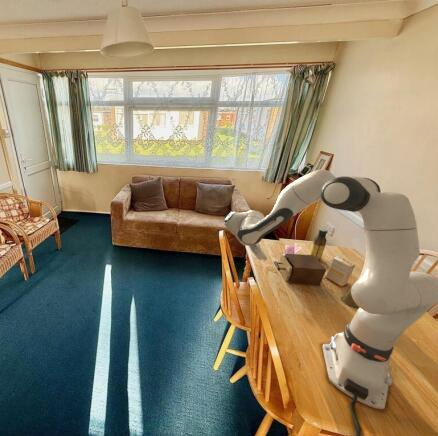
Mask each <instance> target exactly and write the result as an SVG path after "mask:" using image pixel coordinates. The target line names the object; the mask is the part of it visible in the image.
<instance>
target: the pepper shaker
mask: <svg viewBox="0 0 438 436" xmlns="http://www.w3.org/2000/svg"><path fill="white" fill-rule="evenodd" d="M355 282H356V281H354V282H352V283H351V284H350V289H349V290H348V291H347V292H346V293H345V295H344V296H343V297H342V301H343V302H344V303H345V304H347V305H348V306H351V307H353V308H354V307H355V308H357V307H358V308H359V306H358V305H357V304H356V303H355V302H354V300H353V298H352V295H351V288H352V286H353V284H354V283H355Z"/></svg>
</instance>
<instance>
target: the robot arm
mask: <svg viewBox="0 0 438 436" xmlns="http://www.w3.org/2000/svg"><path fill="white" fill-rule="evenodd" d="M319 201H322V203H324V204H325V205H326V206H327V207H329V208H332V209H334V210H338V211H345V212H351V213H357V212H358V214H360V215H361V217H362V220H363V230H364V240H365V241H364V242H365V259H364V263H363V267H362V270H361V273H360V275H359V277H358V279H357V280H356V281H354V282H355V283H354V284H353V286H352V288H351V287H350V289H351V295H352V298H353V300H354V302H355V303H356V304H357V305H358V309H357V310H356V312H355V314H354V316H353V317H352V319H351V321H350V322H348V323H347V324H346V325H345V327H344V330H343V331H341V332H338V333H336V334H335V335H334V336H331V341H330V343H323V344H322V351H323V352H322V353H323V357H324V362H325V367H326V371H327V376H328V380H329V383H331V384H332V385H333V386H334V387H336V388H337V389H338V390H339V391H341V392H342V393H344V394H345V395H346V396H348V397H350V398H352V401H350V412H351V415H352V419H353V422H354V425H355V431H356V434H355V436H362V435H361V433H362V432H361V427H360V424H359V421H358V418H357V415H356V411H355V405H356V404H357V402H359V403H361V404H363V405H366V406H368V407H370V408H373V409H377V410H385V407H386V404H387V398H388V392H389V386H390V387H391V385H393V381H394V380H393V378H391V375H390V373H389V372H392V370H393V366H390V362H391V359H392V354H393V351H394V347H395V344H396V343H397V342H398V340H399V339H400V337H401V336H402V335H403V333H405V331H406V330H407V329H409V328H410V327H411V326H412V325H413V324H415V323H416V322H417V321H419V319H421V318H422V317H423V316H424V315H426V313H427V312H428V311H429V310H431V308H433V307H434V306H436V305H437V304H438V278H437V277H435V276H434V275H431V274H430V273H427V272H423V271H422V272H421V271H414V270H413V271H412V268H413V266H414V265H415V262H417V260H418V259H419V257H420V255H421V251H420V242H419V234H418V225H417V220H416V215H415V212H414V208H413V206H412V203H411V201H410V199H409V197H408V196H406V195H405V194H403V193H399V192H395V191H394V192H393V191H385V192H381V188H380V185H379V184H378V183H377V182H376V181H375V180H373V179H371V178H369V177H362V176H357V175H355V176H354V175H348V176H337V177H336V176H335V175H334V174H333V173H332V172H331V171H329V170H327V169H321V168H320V169H316V170H313V171H311V172H309V173H307V174H305V175H303V176H301V177H299V178H298V179H296V180H294V181H292V182H290V183H289V184H288V185H287V186H286V187H284V188H283V189H282V190H281V191H280V192H279V193H278V196H277V199H276V201H275V204H274V205H273V208H272V209H271V211H270V212H269V214H268V215H266V216H265V215H264V214H263V213H262V212H261V211H259V210H257V209H250V210H246V211H244V212H236V211H230V212H229V213H227V215H226V216H225V218H224V221H223V224H224V226H225V227H226V229H227V230H228V231H229V232H230V233H231V234H232V235H234V236H235V238H236V240H237V241H238V242H239V243H240V244H241V245H242V246H246V247H247V246H248V247H249V249H250V251H251V252H252V253H253V254H254V256H255V257H256V258H257V259H258V260H259V261H262V260H263V261H267V260H268V257H267V255H266V254H265V252H264V250H263V248H262V247H261V245H260V244H259V243H260V242H261V241H262V240H263V239H264V237H265V236H267V235H268V234H270V233H272V232H273V231H275V230H276V229H278V228H279V227H281V226H283V225H285V224H286V223H287V222H288V221H290V220H291V219H292V218H293V217H294V216H296V215H297V214H298V213H300V212H301V211H303V210H304V209H306V208H308V207H309V206H311V205H314V204H315V203H317V202H319ZM388 371H389V372H388Z"/></svg>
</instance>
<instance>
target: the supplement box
mask: <svg viewBox="0 0 438 436" xmlns="http://www.w3.org/2000/svg"><path fill="white" fill-rule="evenodd" d="M356 265H357V264H356V263H354V262H352V261H350V260H348V259H346V258H344V257H343V256H340V255H338V256H337V255H336V256H335V257H333V258H332V260H331V263H330V265H329V268H328V270H327V272H326V274H325V278H326V279H327V280H329V281H331V282H333V283H334V284H336V285H338V286H339V287H344V286H346V285H347V284H348V282H349V280H350V278H351V276H352V273H353V271H354V269H355V267H356Z"/></svg>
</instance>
